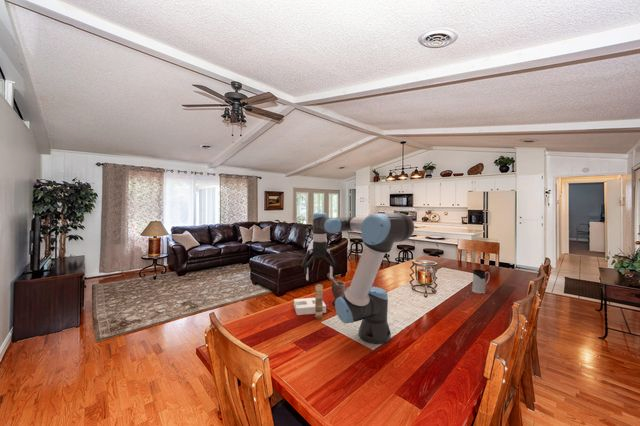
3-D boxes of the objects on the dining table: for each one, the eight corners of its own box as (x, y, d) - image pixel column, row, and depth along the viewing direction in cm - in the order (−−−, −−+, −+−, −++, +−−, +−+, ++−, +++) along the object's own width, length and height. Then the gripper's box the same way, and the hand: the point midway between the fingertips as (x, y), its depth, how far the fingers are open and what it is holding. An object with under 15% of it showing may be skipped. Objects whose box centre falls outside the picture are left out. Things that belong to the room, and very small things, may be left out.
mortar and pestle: (334, 308, 160) (334, 275, 159) (324, 304, 166) (325, 272, 165) (347, 304, 167) (348, 272, 166) (338, 299, 174) (338, 269, 173)
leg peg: (323, 318, 146) (323, 286, 145) (316, 319, 145) (316, 286, 144) (321, 315, 150) (321, 284, 149) (314, 316, 149) (314, 284, 148)
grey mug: (468, 289, 195) (469, 269, 194) (483, 288, 200) (484, 268, 199) (479, 294, 187) (480, 273, 186) (494, 292, 191) (495, 271, 190)
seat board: (326, 312, 154) (326, 305, 154) (297, 315, 150) (297, 308, 150) (320, 303, 167) (320, 297, 167) (293, 305, 163) (293, 299, 163)
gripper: (339, 239, 152) (338, 275, 153) (296, 240, 147) (296, 278, 148) (343, 241, 145) (342, 279, 146) (298, 242, 139) (298, 282, 140)
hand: (319, 279), depth 147 cm, fingers open, 13 cm apart
